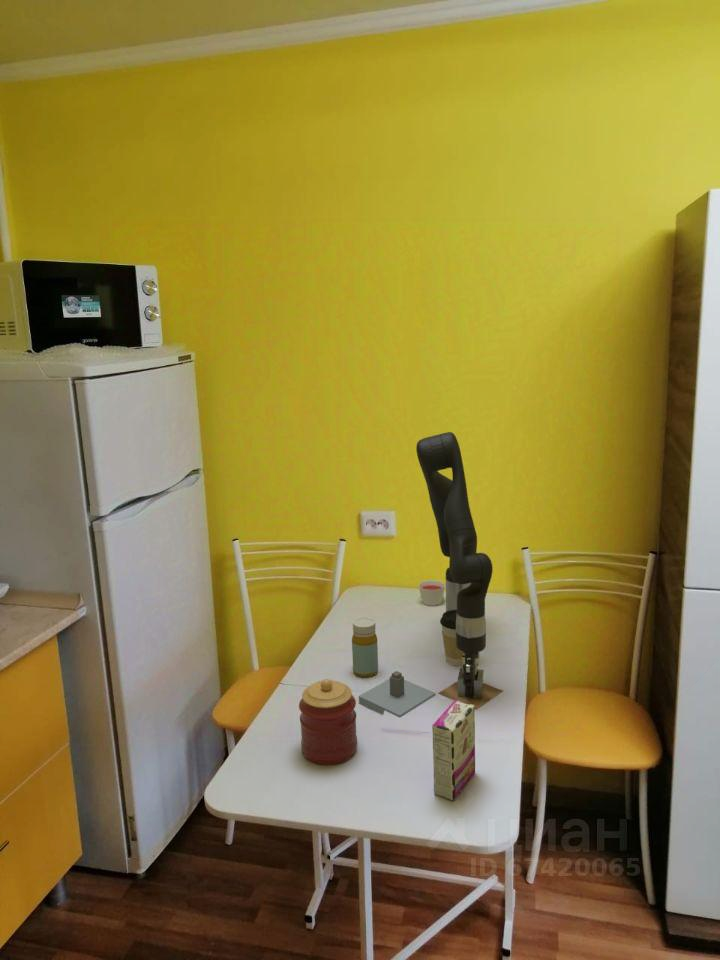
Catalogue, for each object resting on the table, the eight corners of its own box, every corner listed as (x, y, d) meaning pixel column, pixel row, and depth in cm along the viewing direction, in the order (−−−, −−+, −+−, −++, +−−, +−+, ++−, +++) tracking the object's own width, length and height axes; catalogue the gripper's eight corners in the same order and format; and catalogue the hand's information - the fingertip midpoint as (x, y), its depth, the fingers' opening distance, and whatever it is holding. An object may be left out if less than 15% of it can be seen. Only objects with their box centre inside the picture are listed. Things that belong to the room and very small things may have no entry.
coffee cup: (482, 663, 205) (482, 614, 201) (462, 677, 198) (462, 626, 194) (453, 653, 211) (453, 605, 208) (433, 666, 204) (432, 616, 201)
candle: (419, 597, 254) (419, 580, 253) (445, 597, 253) (444, 580, 252) (418, 607, 245) (418, 589, 244) (445, 607, 244) (445, 590, 243)
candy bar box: (454, 766, 159) (454, 698, 156) (475, 772, 157) (476, 704, 153) (432, 794, 150) (431, 723, 146) (454, 802, 148) (453, 730, 144)
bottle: (348, 675, 201) (346, 625, 197) (360, 664, 207) (358, 615, 203) (371, 680, 198) (369, 629, 194) (382, 669, 204) (381, 619, 200)
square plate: (394, 682, 196) (394, 655, 194) (435, 700, 186) (435, 671, 185) (358, 703, 186) (357, 674, 185) (400, 722, 177) (399, 693, 175)
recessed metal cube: (460, 685, 190) (460, 667, 189) (483, 687, 189) (483, 669, 188) (457, 696, 185) (457, 679, 184) (481, 699, 183) (481, 681, 182)
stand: (465, 681, 196) (465, 660, 194) (503, 696, 187) (503, 674, 186) (438, 698, 187) (437, 677, 186) (476, 715, 179) (476, 693, 178)
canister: (304, 733, 174) (300, 666, 170) (358, 733, 173) (356, 665, 169) (298, 766, 161) (294, 695, 157) (356, 766, 160) (353, 694, 156)
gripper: (459, 617, 191) (459, 675, 194) (452, 641, 177) (452, 703, 181) (487, 619, 189) (487, 678, 193) (483, 643, 175) (483, 706, 179)
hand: (470, 689), depth 187 cm, fingers closed on recessed metal cube, 6 cm apart
